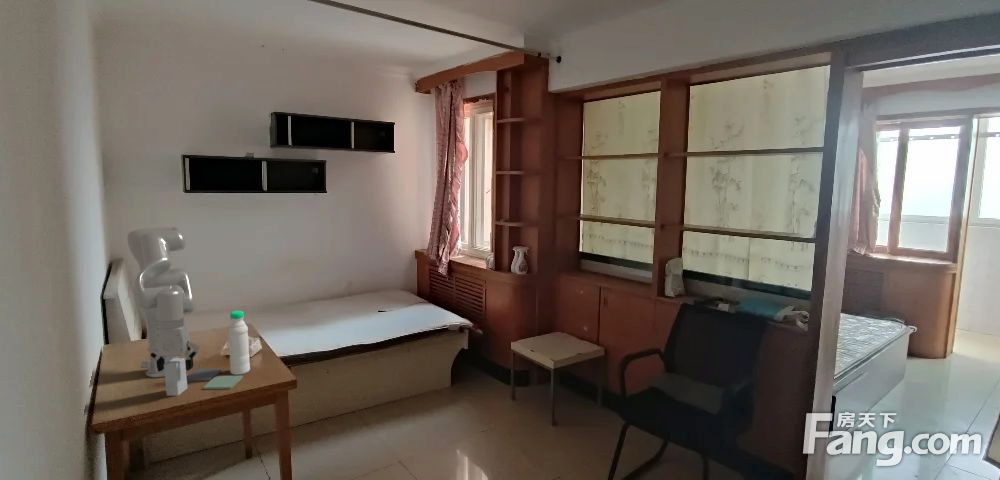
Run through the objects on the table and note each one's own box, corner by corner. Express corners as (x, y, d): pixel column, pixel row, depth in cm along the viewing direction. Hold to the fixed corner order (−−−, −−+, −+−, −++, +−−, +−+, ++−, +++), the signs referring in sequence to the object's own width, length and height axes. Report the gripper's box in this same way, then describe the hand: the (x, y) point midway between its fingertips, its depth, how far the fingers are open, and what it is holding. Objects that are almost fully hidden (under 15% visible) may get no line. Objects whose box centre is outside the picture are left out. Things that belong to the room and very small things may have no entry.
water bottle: (254, 370, 196) (250, 311, 192) (238, 376, 190) (234, 315, 186) (242, 366, 199) (238, 308, 195) (226, 373, 193) (222, 313, 189)
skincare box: (175, 388, 178) (173, 357, 177) (187, 388, 179) (185, 357, 177) (165, 396, 172) (163, 364, 171) (178, 396, 173) (175, 364, 171)
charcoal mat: (182, 381, 184) (182, 379, 184) (196, 370, 194) (196, 368, 194) (209, 381, 185) (209, 379, 185) (222, 370, 195) (222, 368, 195)
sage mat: (202, 389, 178) (202, 387, 178) (216, 377, 188) (216, 375, 188) (230, 388, 179) (230, 386, 179) (242, 377, 189) (242, 375, 189)
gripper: (139, 327, 167) (143, 374, 169) (191, 326, 169) (194, 372, 171) (152, 321, 175) (156, 366, 177) (202, 320, 176) (206, 365, 178)
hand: (175, 369), depth 174 cm, fingers open, 9 cm apart
